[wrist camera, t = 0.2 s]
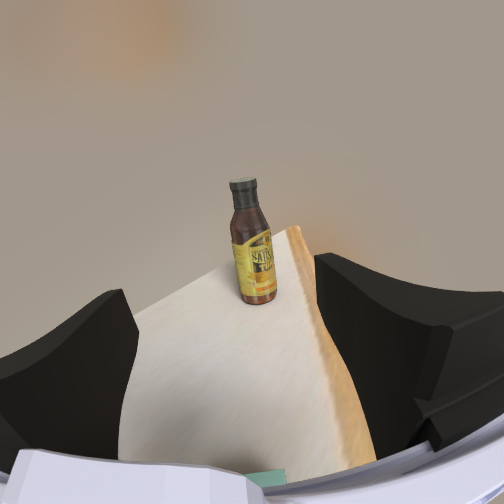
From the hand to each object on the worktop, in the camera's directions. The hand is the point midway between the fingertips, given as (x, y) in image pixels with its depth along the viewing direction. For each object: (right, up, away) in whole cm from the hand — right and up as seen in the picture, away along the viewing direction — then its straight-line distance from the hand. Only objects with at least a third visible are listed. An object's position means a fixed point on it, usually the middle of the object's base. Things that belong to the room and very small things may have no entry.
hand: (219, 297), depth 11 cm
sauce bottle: (+3, -6, +41) cm, 42 cm away
